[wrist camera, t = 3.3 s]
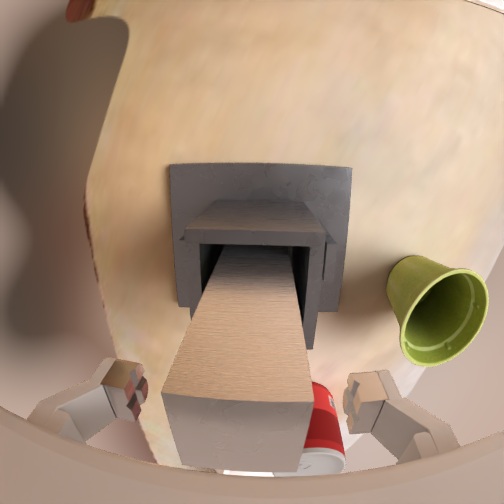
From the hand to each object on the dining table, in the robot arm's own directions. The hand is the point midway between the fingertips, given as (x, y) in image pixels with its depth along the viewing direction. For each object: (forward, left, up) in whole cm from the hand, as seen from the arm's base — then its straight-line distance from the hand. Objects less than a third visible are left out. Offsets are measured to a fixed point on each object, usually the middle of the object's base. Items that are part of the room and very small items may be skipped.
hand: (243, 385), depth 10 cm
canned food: (-6, +21, -19) cm, 29 cm away
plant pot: (-16, +4, -19) cm, 25 cm away
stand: (0, 0, -19) cm, 19 cm away
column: (0, 0, -17) cm, 17 cm away
